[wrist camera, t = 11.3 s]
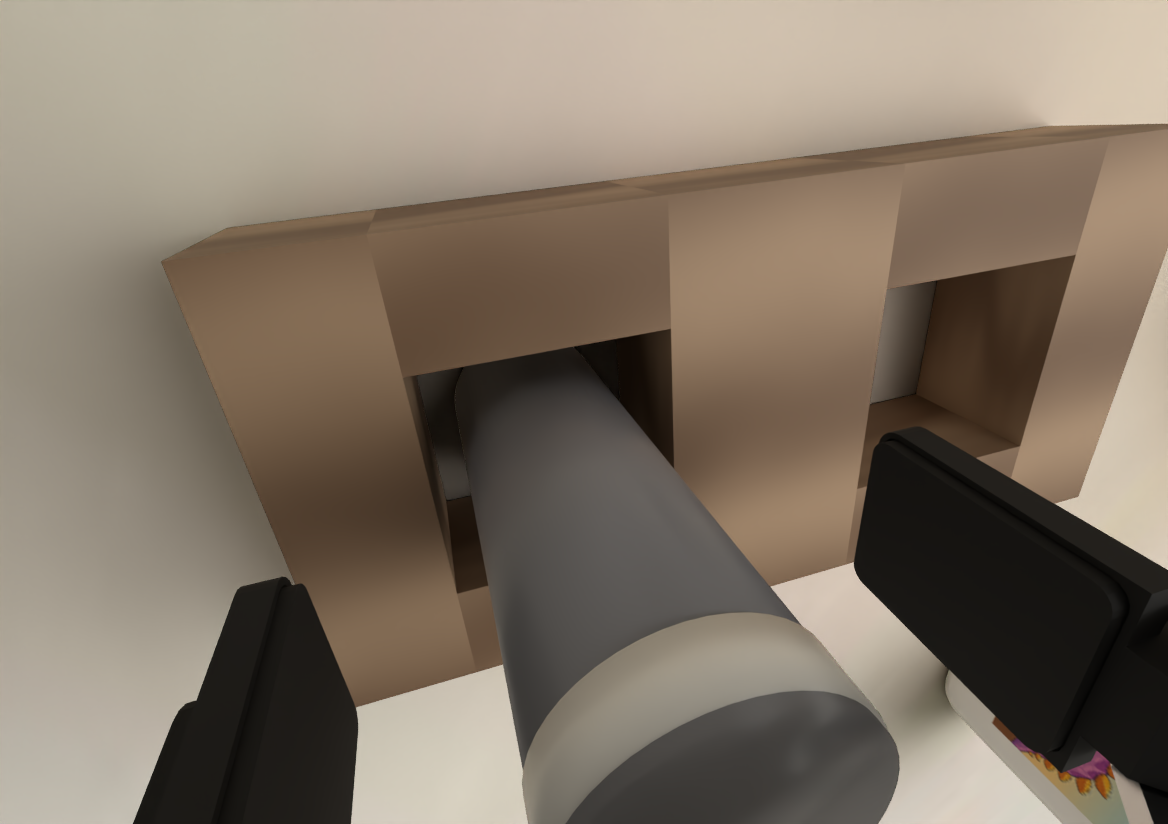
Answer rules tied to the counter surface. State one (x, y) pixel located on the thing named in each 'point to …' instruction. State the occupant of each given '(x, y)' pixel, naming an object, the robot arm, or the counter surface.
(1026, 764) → the milk bottle
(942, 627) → the robot arm
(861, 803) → the grey rounded cylinder
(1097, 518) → the counter surface
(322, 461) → the socket block
